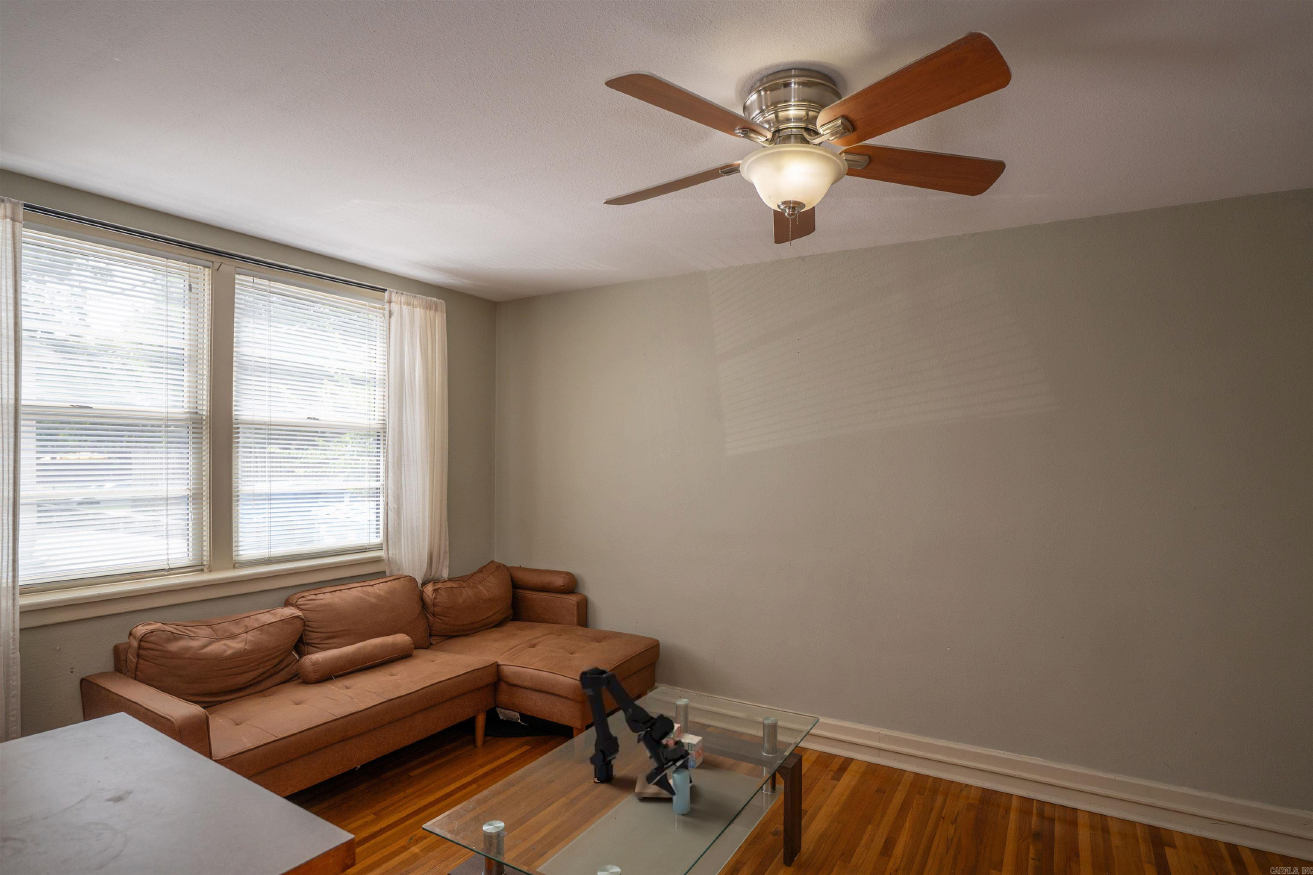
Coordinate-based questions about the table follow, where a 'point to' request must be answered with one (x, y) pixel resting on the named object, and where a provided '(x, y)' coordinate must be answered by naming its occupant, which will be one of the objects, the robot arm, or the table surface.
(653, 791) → the plate
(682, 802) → the light blue rounded piece
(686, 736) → the stack of blocks
